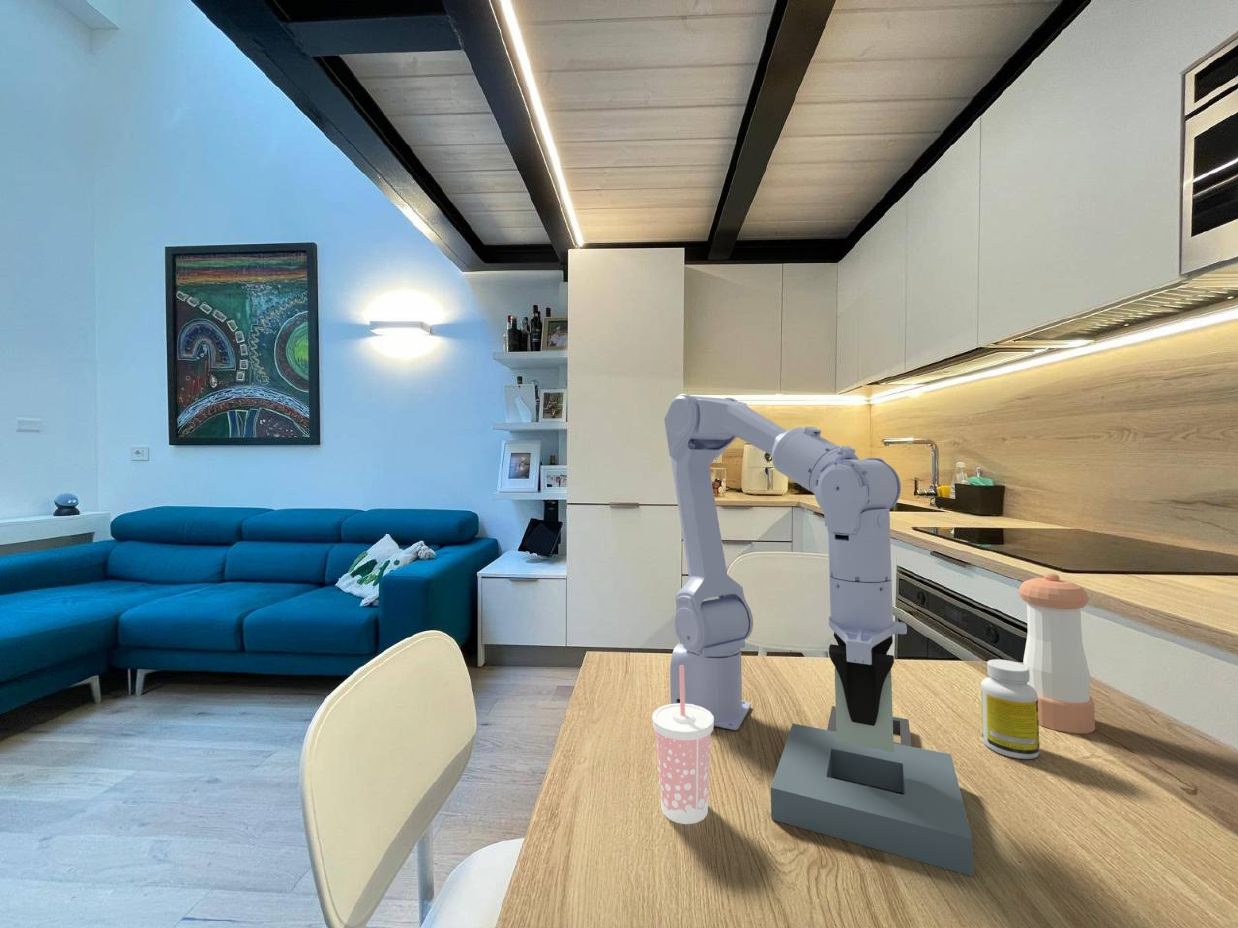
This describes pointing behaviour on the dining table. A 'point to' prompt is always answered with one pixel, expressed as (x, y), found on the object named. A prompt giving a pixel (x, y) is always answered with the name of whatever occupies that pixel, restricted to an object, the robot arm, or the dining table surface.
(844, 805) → the port block
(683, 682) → the beverage cup
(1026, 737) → the supplement bottle
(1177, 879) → the dining table surface
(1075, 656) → the pepper shaker
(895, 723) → the grey rectangular frame
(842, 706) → the plug
